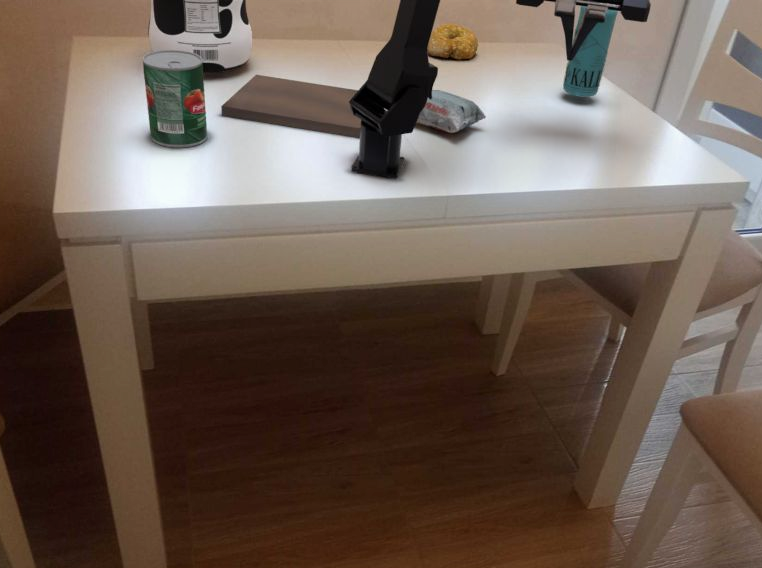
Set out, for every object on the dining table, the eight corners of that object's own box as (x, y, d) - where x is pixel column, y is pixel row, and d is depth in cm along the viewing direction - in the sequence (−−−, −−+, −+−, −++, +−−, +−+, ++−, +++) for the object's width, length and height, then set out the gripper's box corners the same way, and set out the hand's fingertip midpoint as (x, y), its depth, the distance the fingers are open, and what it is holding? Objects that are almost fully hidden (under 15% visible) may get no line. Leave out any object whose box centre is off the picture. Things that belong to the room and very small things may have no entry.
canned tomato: (146, 128, 112) (137, 50, 105) (201, 124, 115) (196, 48, 108) (155, 150, 106) (147, 69, 100) (213, 145, 109) (208, 67, 102)
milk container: (205, 43, 145) (199, -63, 134) (273, 67, 138) (272, -44, 127) (130, 61, 134) (116, -54, 123) (199, 88, 126) (191, -31, 115)
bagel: (413, 50, 154) (416, 25, 151) (451, 43, 160) (454, 19, 157) (449, 64, 148) (452, 39, 145) (487, 56, 155) (491, 32, 152)
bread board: (361, 138, 116) (362, 128, 115) (221, 115, 118) (221, 106, 117) (383, 103, 129) (383, 94, 128) (256, 83, 131) (256, 74, 130)
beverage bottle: (573, 90, 143) (600, -27, 131) (603, 101, 139) (633, -18, 127) (552, 96, 139) (578, -24, 127) (582, 108, 135) (612, -15, 123)
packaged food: (456, 144, 117) (461, 112, 114) (393, 122, 122) (396, 91, 119) (484, 130, 123) (490, 99, 120) (423, 110, 128) (426, 80, 125)
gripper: (657, -56, 113) (629, 54, 122) (530, -73, 114) (511, 37, 124) (664, -42, 104) (632, 75, 113) (526, -60, 105) (506, 56, 115)
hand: (569, 60), depth 116 cm, fingers closed
